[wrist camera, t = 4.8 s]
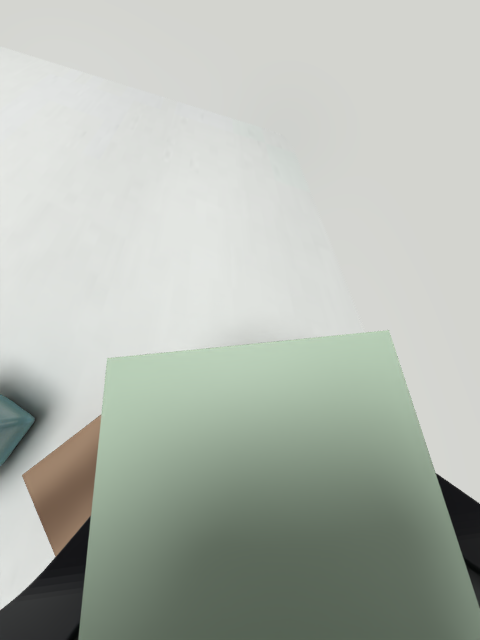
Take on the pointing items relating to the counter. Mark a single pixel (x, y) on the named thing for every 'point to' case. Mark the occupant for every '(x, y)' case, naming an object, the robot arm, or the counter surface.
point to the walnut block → (65, 485)
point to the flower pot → (12, 426)
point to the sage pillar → (270, 500)
